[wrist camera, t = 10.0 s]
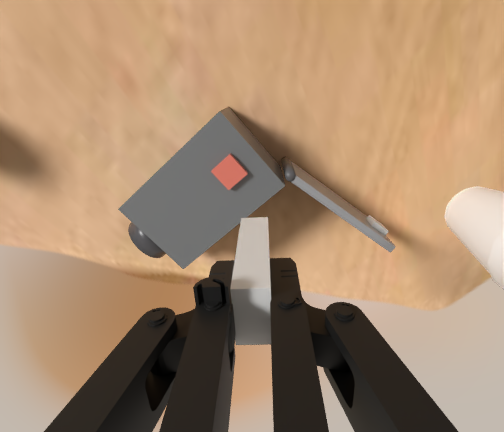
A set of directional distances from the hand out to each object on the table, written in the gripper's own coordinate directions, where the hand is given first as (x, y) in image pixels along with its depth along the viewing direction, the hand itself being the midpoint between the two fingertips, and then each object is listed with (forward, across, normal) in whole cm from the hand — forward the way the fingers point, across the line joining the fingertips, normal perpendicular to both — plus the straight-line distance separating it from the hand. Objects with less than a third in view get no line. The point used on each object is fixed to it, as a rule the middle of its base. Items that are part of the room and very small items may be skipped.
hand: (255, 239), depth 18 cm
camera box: (+21, -7, -3) cm, 22 cm away
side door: (+20, +8, -4) cm, 22 cm away
